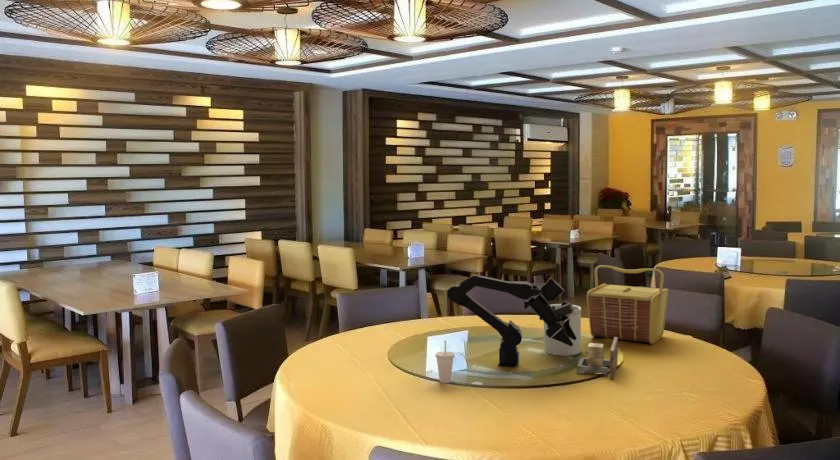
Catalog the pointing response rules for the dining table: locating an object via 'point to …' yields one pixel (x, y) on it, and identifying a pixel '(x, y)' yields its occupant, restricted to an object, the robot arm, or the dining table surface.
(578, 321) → the utensil holder
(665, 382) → the dining table surface
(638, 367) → the dining table surface
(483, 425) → the dining table surface
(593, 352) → the cabinet block
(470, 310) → the robot arm
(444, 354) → the smoothie
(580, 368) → the grey frame stand
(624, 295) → the picnic basket
